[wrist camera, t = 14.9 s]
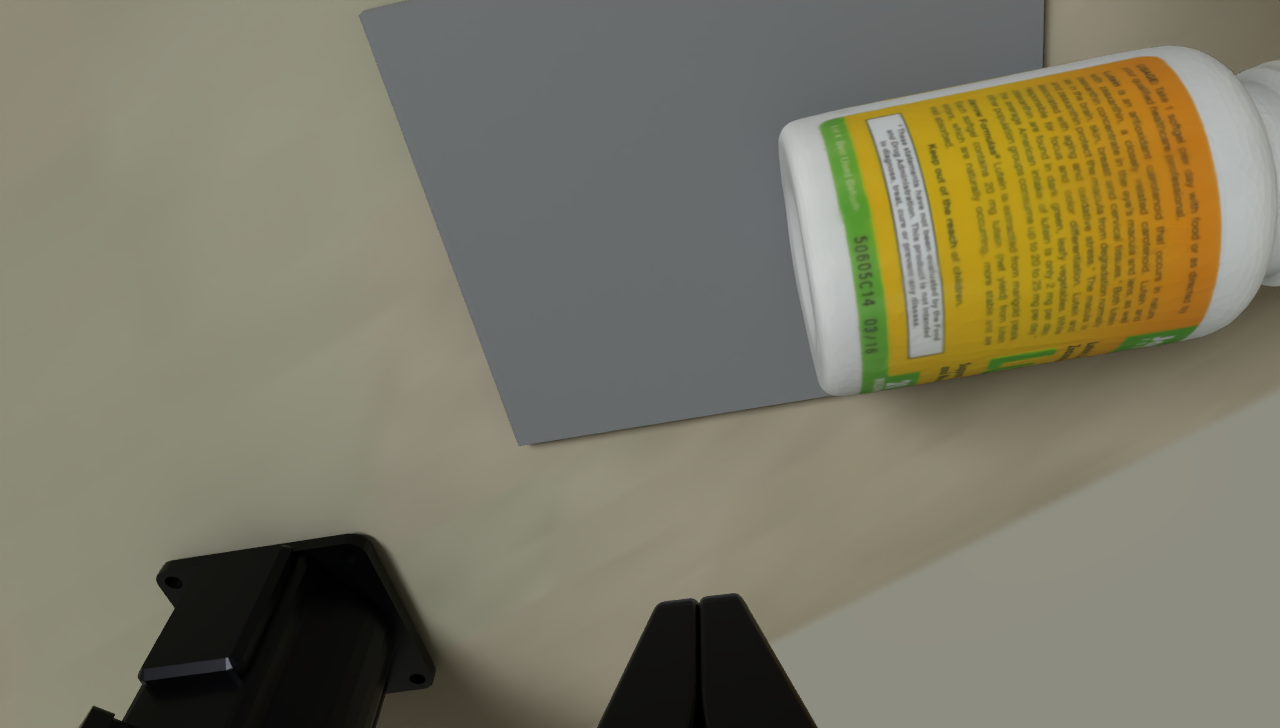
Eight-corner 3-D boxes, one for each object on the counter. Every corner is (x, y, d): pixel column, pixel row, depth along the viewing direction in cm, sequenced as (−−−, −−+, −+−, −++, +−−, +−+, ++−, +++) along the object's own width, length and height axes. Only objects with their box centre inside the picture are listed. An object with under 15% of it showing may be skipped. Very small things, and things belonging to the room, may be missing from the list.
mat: (1030, 353, 23) (1035, 362, 22) (520, 436, 24) (518, 445, 24) (1039, -147, 17) (1046, -145, 16) (364, 10, 18) (358, 15, 18)
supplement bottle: (835, 448, 16) (1436, 355, 15) (788, 143, 14) (1469, 6, 13) (804, 345, 21) (1253, 268, 20) (767, 109, 20) (1258, 7, 18)
